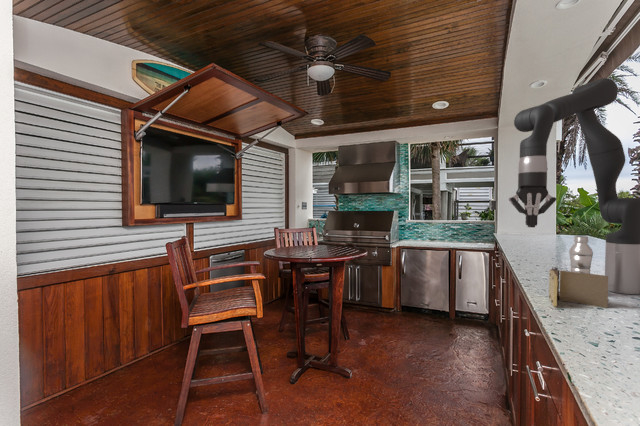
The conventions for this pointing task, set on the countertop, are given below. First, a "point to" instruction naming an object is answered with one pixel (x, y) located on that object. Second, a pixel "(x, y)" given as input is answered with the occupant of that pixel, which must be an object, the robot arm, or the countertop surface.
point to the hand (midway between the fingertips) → (531, 227)
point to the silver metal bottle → (581, 255)
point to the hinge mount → (582, 288)
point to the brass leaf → (553, 287)
